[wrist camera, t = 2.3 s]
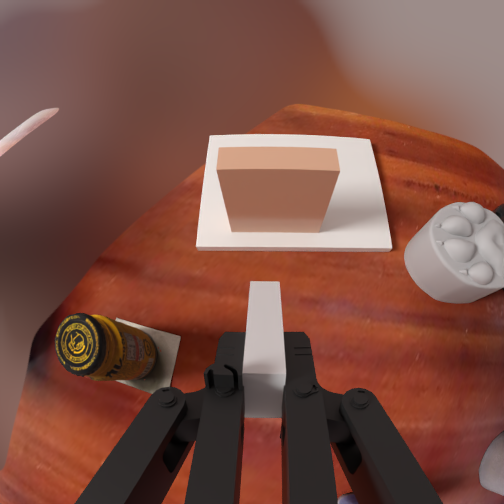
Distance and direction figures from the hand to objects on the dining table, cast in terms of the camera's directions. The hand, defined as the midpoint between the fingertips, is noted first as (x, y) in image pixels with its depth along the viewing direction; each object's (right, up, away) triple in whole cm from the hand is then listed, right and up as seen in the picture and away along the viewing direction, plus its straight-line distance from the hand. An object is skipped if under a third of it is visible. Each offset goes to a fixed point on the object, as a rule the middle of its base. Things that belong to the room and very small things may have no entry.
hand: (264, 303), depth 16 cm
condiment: (-13, -9, +15) cm, 22 cm away
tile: (+2, +6, +19) cm, 20 cm away
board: (+5, +11, +22) cm, 25 cm away
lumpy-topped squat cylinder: (+24, +1, +18) cm, 30 cm away
